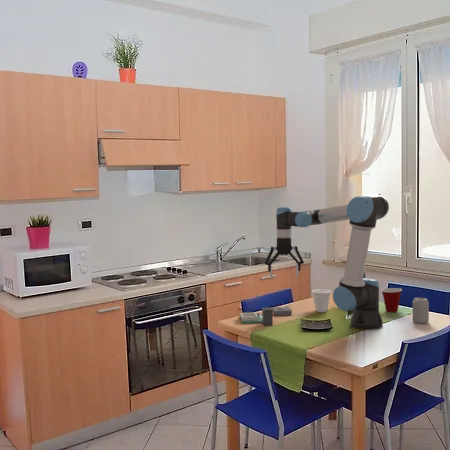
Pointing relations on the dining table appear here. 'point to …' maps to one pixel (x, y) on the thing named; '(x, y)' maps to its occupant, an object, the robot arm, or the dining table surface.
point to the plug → (267, 317)
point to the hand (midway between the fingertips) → (284, 277)
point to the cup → (321, 299)
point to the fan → (281, 311)
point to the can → (420, 310)
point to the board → (251, 318)
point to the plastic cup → (391, 299)
